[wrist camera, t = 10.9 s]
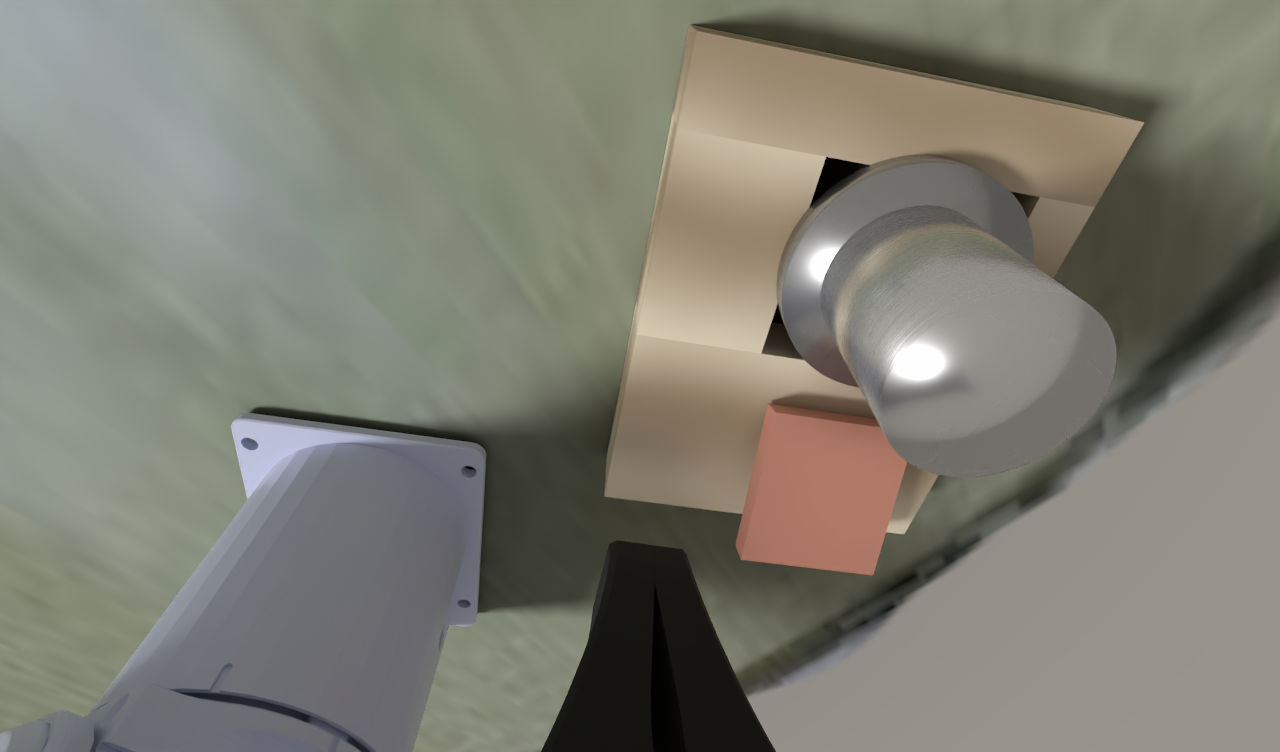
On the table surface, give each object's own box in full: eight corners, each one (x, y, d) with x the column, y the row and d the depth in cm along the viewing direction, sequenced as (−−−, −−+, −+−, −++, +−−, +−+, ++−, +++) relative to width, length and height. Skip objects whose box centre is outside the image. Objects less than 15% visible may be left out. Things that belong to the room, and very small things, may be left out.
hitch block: (883, 491, 22) (903, 534, 20) (606, 455, 21) (604, 496, 19) (1087, 106, 15) (1144, 122, 13) (689, 24, 14) (696, 30, 12)
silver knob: (926, 352, 19) (1059, 525, 13) (740, 325, 18) (790, 491, 12) (1021, 158, 16) (1254, 268, 10) (800, 118, 15) (907, 207, 9)
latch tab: (862, 560, 19) (873, 575, 18) (735, 544, 18) (741, 559, 18) (902, 423, 18) (916, 432, 17) (767, 403, 17) (775, 412, 17)
